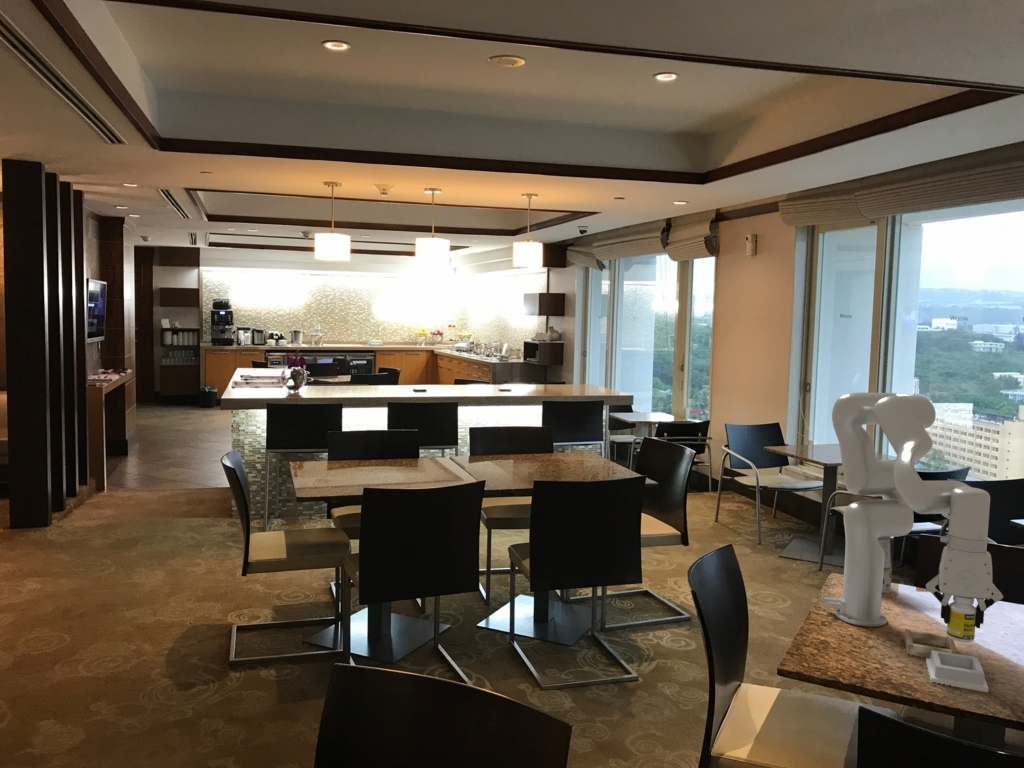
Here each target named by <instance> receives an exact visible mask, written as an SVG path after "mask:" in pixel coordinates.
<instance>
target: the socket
mask: <svg viewBox="0 0 1024 768" xmlns="http://www.w3.org/2000/svg"><path fill="white" fill-rule="evenodd" d="M925 663H926V664H927V665H926V667H927V668H928V669H927V668H926V669H927V672H929V673H928V676H930V677H929V680H931V681H930V683H932V682H936V683H935V684H938V683H940V684H939V685H943V684H945V685H944V686H949V685H951V686H950V687H955V688H956V687H957V688H962V689H967V690H973V691H978V692H983V693H989V686H988V683H987V680H986V678H985V677H986V676H985V672H984V670H983V667H982V665H981V662H980V660H979V657H977V656H971V655H964V654H959V653H958V654H954V653H947V652H941V651H935V650H931V659H930V658H925Z"/></svg>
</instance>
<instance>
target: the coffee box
mask: <svg viewBox="0 0 1024 768" xmlns="http://www.w3.org/2000/svg"><path fill="white" fill-rule="evenodd" d="M878 542H879V544H880V546H881V547H882V549H883V552H884V573H883V587H882V594H884V593H885V594H886V593H887V594H890V593H891V588H892V576H893V559H894V545H895V544H894V543H895V539H894V538H893V537H879V538H878Z"/></svg>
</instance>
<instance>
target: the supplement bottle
mask: <svg viewBox="0 0 1024 768" xmlns="http://www.w3.org/2000/svg"><path fill="white" fill-rule="evenodd" d="M952 596H953V595H952ZM952 600H953V602H949V606H950V612H949V623H948V624H947V625H946V635H947V636H948V637H949V638H951V639H953V641H957V642H960V643H972V642H974V640H975V635H976V626H975V625H976V612H977V610H976V608H975V607H976V606H974V603H975V598H968V597H961V596H953V597H952Z"/></svg>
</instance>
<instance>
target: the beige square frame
mask: <svg viewBox="0 0 1024 768" xmlns="http://www.w3.org/2000/svg"><path fill="white" fill-rule="evenodd" d="M903 640H904V645H906V646H905V650H907V651H906V655H907V654H910V655H909V656H912V655H917V656H916V657H918V656H922V657H921V658H924V657H927V658H928V659H930V658H931V650H935V651H941V652H947V653H954V654H959V652H958V650H957V647H956V644H955V642H954V641H955V640H953V639H951V638H949V637H948V636H947V634H940V633H933V632H927V631H921V630H914V629H908V628H904V634H903ZM913 641H914V642H913ZM918 642H921V643H918ZM917 643H918V644H917ZM924 643H927V644H925V645H924ZM930 644H933V645H930ZM936 645H939V646H937V647H936ZM943 646H944V647H943ZM942 647H943V648H942Z"/></svg>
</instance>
